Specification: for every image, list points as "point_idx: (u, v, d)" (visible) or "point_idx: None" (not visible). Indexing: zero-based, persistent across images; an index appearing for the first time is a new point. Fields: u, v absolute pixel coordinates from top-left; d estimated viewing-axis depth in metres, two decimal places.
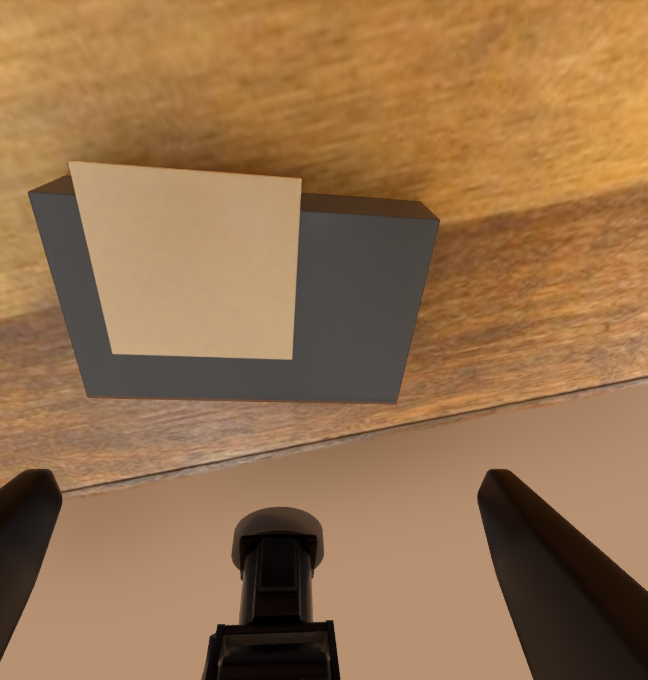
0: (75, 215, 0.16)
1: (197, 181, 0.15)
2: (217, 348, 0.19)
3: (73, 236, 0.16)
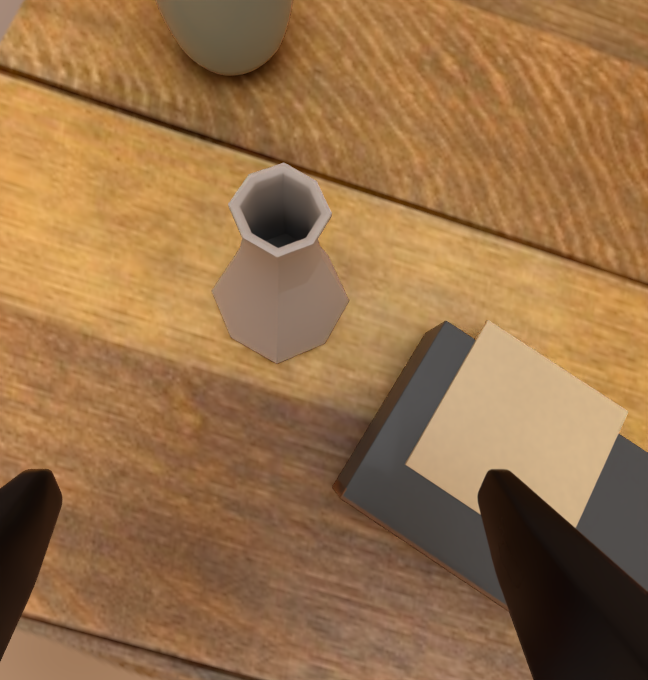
0: (464, 349, 0.20)
1: (560, 374, 0.21)
2: None
3: (452, 360, 0.20)
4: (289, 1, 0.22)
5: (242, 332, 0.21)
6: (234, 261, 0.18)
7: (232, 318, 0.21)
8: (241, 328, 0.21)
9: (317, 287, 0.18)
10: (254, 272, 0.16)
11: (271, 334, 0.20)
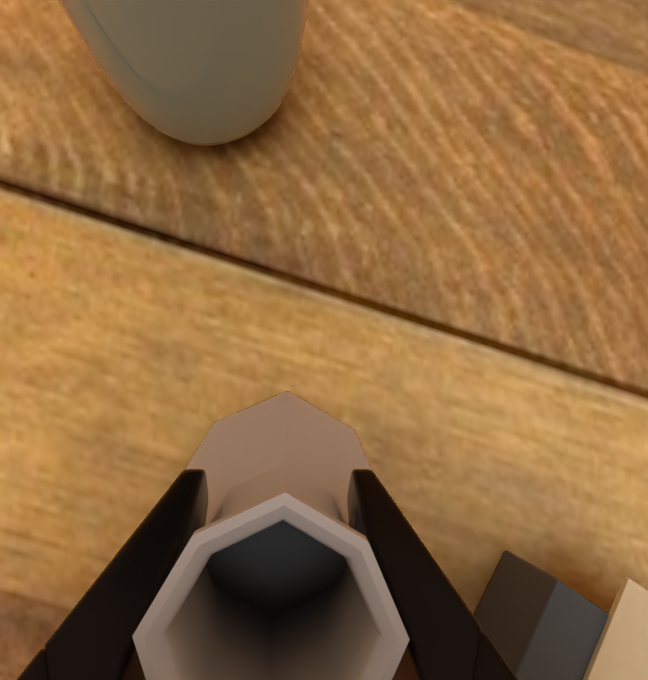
0: (592, 634, 0.12)
1: None
2: None
3: (572, 657, 0.12)
4: (297, 41, 0.14)
5: (213, 586, 0.13)
6: None
7: None
8: None
9: None
10: (222, 612, 0.08)
11: (262, 616, 0.12)
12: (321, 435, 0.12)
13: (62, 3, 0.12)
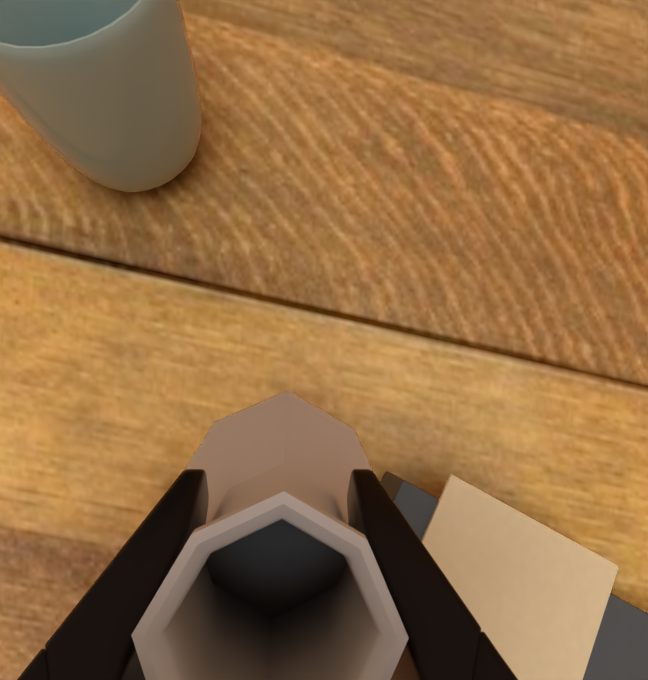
0: (426, 513, 0.18)
1: (538, 531, 0.18)
2: None
3: (413, 529, 0.18)
4: (194, 115, 0.19)
5: (214, 586, 0.13)
6: None
7: None
8: None
9: None
10: (222, 612, 0.08)
11: (262, 616, 0.12)
12: (321, 434, 0.13)
13: (18, 114, 0.16)
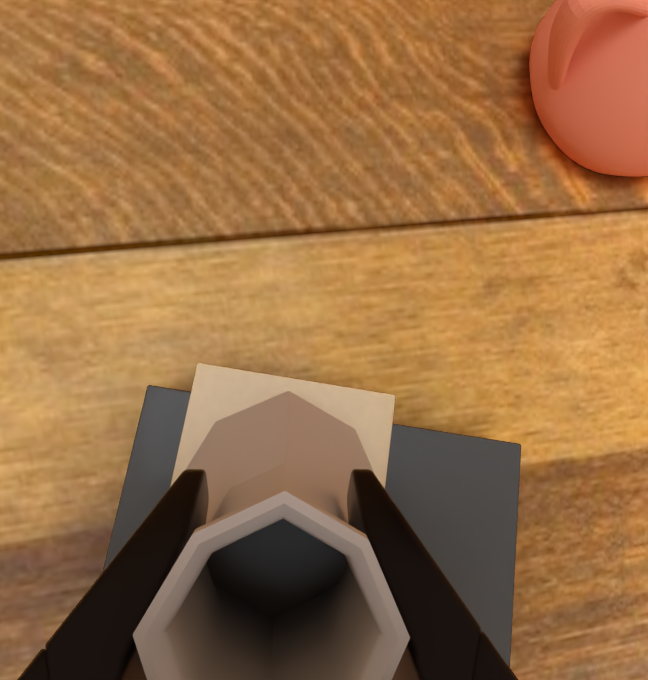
0: (181, 409, 0.17)
1: (304, 389, 0.17)
2: None
3: (170, 430, 0.16)
4: None
5: None
6: None
7: None
8: None
9: None
10: (223, 612, 0.08)
11: (263, 616, 0.12)
12: (322, 434, 0.12)
13: None
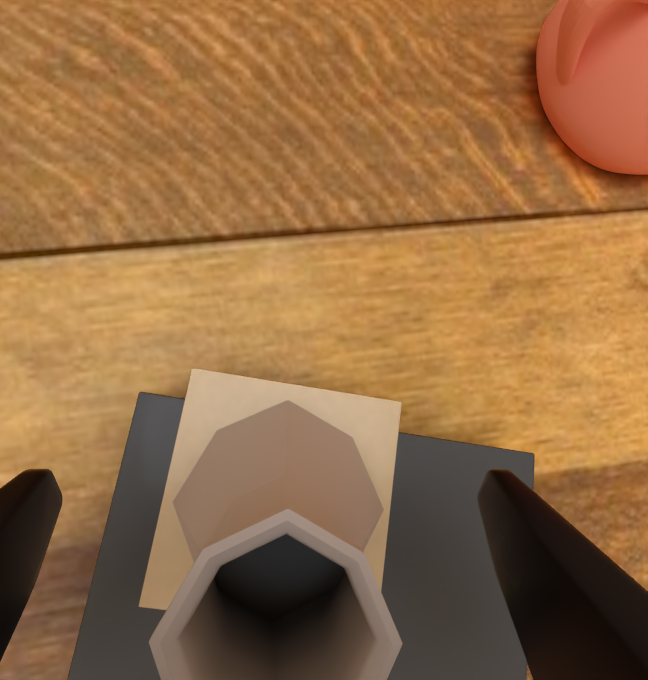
0: (174, 417, 0.16)
1: (304, 395, 0.16)
2: None
3: (162, 439, 0.15)
4: None
5: None
6: (196, 543, 0.10)
7: None
8: None
9: None
10: (227, 618, 0.08)
11: (264, 619, 0.12)
12: (320, 444, 0.13)
13: None
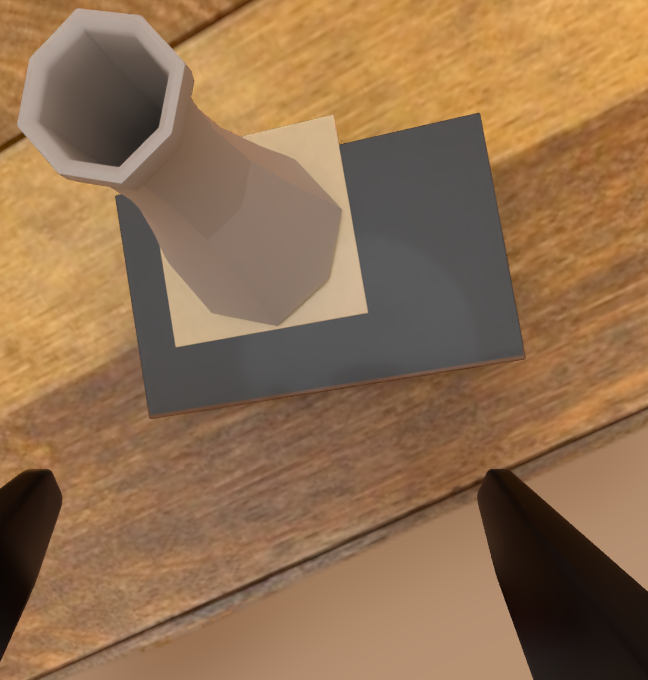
0: None
1: None
2: None
3: (146, 224, 0.18)
4: None
5: (216, 303, 0.16)
6: (145, 217, 0.12)
7: (196, 290, 0.16)
8: (211, 299, 0.16)
9: (269, 208, 0.12)
10: (158, 223, 0.11)
11: (246, 295, 0.15)
12: None
13: None
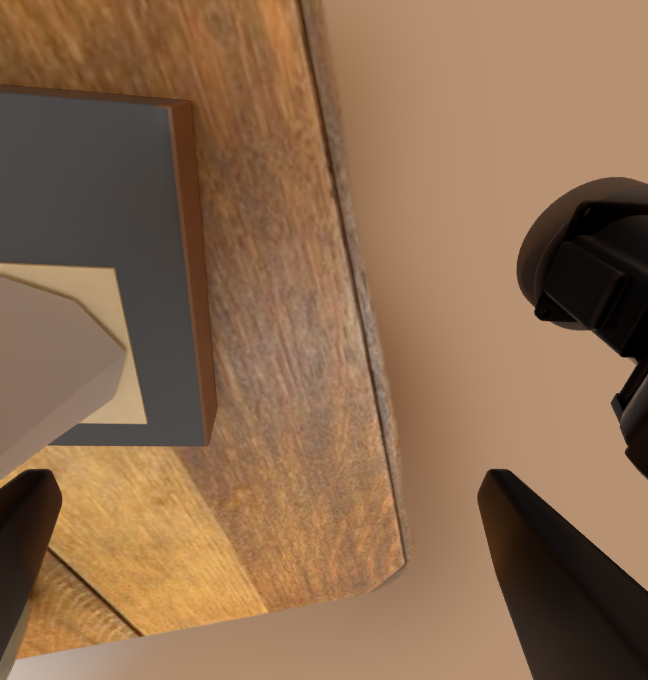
0: None
1: None
2: (117, 343, 0.18)
3: None
4: None
5: (97, 402, 0.18)
6: None
7: (82, 419, 0.18)
8: (90, 409, 0.18)
9: None
10: None
11: (78, 393, 0.16)
12: None
13: (7, 675, 0.30)
